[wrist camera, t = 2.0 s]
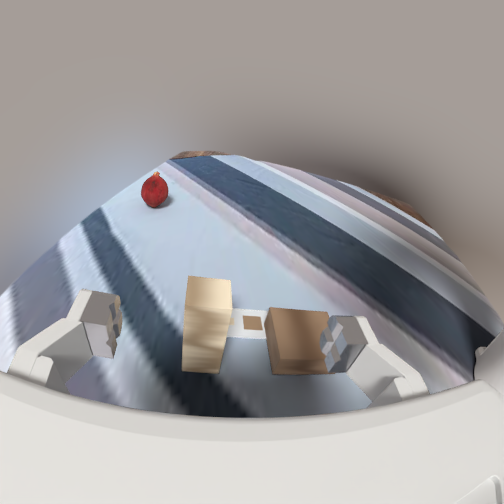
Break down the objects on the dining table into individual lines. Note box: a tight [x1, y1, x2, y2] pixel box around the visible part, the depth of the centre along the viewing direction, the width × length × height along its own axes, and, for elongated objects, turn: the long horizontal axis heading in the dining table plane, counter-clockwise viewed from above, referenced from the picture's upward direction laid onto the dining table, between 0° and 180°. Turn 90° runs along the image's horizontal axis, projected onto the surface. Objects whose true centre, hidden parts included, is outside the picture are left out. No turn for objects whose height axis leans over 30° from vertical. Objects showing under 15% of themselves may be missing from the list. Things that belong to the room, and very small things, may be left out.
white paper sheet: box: [227, 308, 268, 339], centre depth 36 cm, size 8×5×1 cm, turn 96°
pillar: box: [182, 276, 232, 374], centre depth 28 cm, size 4×4×10 cm
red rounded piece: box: [141, 172, 168, 207], centre depth 57 cm, size 6×6×8 cm
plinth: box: [264, 307, 335, 375], centre depth 34 cm, size 8×8×3 cm
